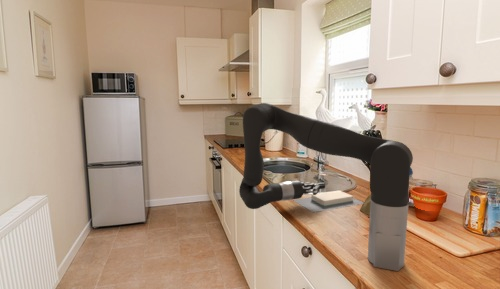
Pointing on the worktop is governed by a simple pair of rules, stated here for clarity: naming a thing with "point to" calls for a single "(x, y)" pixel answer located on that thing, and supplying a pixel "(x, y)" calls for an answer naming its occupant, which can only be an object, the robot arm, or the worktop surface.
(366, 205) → the rock
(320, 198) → the tile
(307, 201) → the board
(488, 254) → the worktop surface
